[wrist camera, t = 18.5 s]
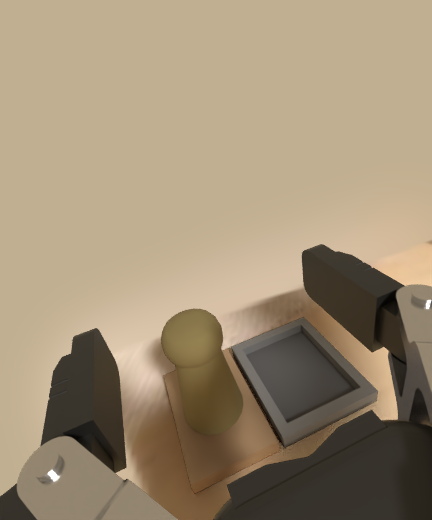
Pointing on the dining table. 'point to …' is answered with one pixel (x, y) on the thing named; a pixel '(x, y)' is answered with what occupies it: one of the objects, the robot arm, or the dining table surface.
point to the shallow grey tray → (301, 380)
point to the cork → (202, 371)
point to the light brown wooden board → (222, 437)
